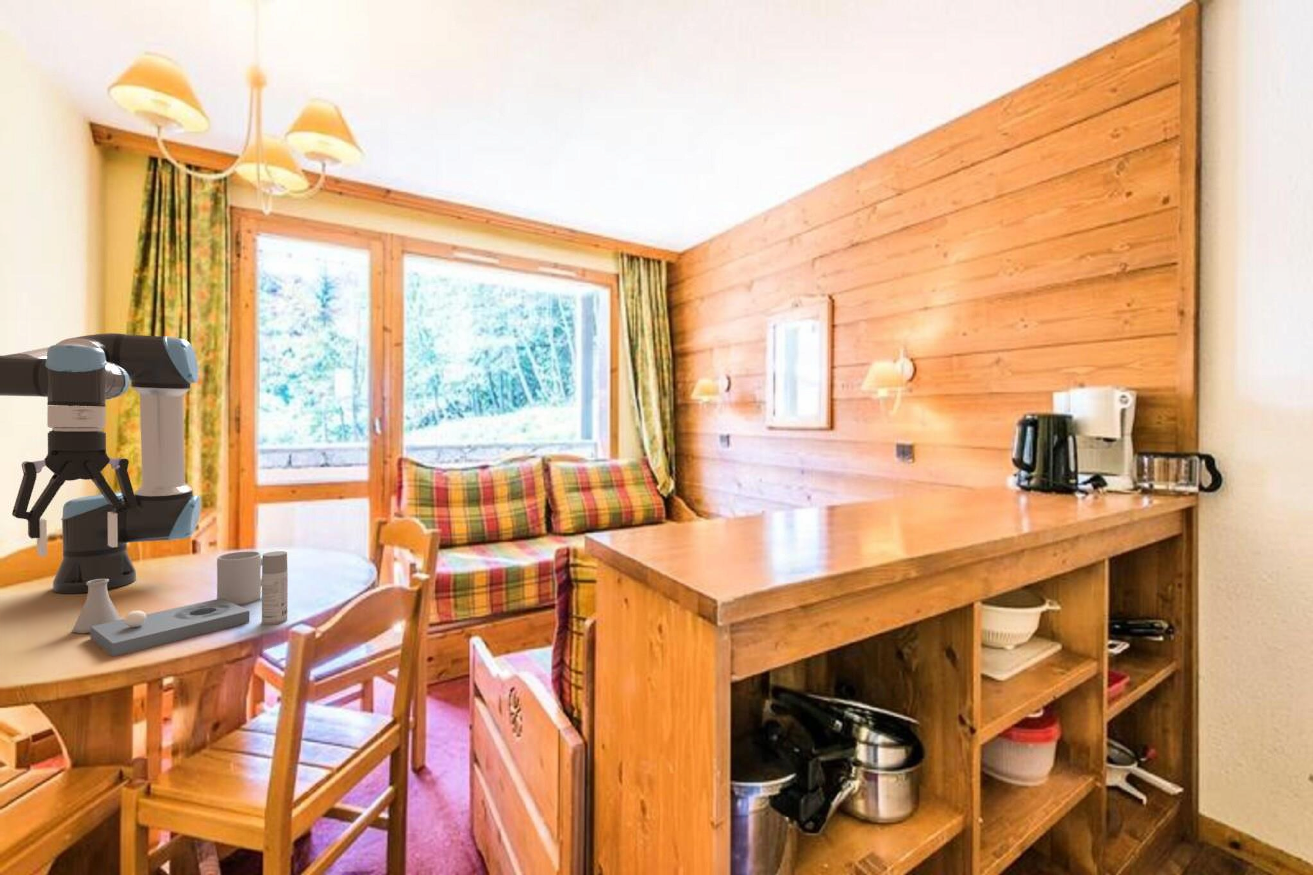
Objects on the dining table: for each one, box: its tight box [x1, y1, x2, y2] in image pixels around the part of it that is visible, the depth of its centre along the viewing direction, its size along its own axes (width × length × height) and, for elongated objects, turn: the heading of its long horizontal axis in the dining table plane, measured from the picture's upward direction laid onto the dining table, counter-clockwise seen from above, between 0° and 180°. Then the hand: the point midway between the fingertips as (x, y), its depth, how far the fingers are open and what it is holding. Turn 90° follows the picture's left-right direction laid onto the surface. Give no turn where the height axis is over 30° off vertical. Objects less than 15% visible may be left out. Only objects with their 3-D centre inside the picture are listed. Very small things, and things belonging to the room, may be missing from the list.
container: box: [261, 550, 289, 626], centre depth 123 cm, size 5×5×15 cm
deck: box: [90, 598, 250, 658], centre depth 117 cm, size 14×22×2 cm, turn 147°
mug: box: [216, 550, 263, 606], centre depth 137 cm, size 12×8×11 cm
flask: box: [71, 579, 123, 634], centre depth 117 cm, size 7×7×10 cm
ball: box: [124, 610, 147, 627], centre depth 112 cm, size 3×3×3 cm
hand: (78, 550), depth 104 cm, fingers open, 9 cm apart
